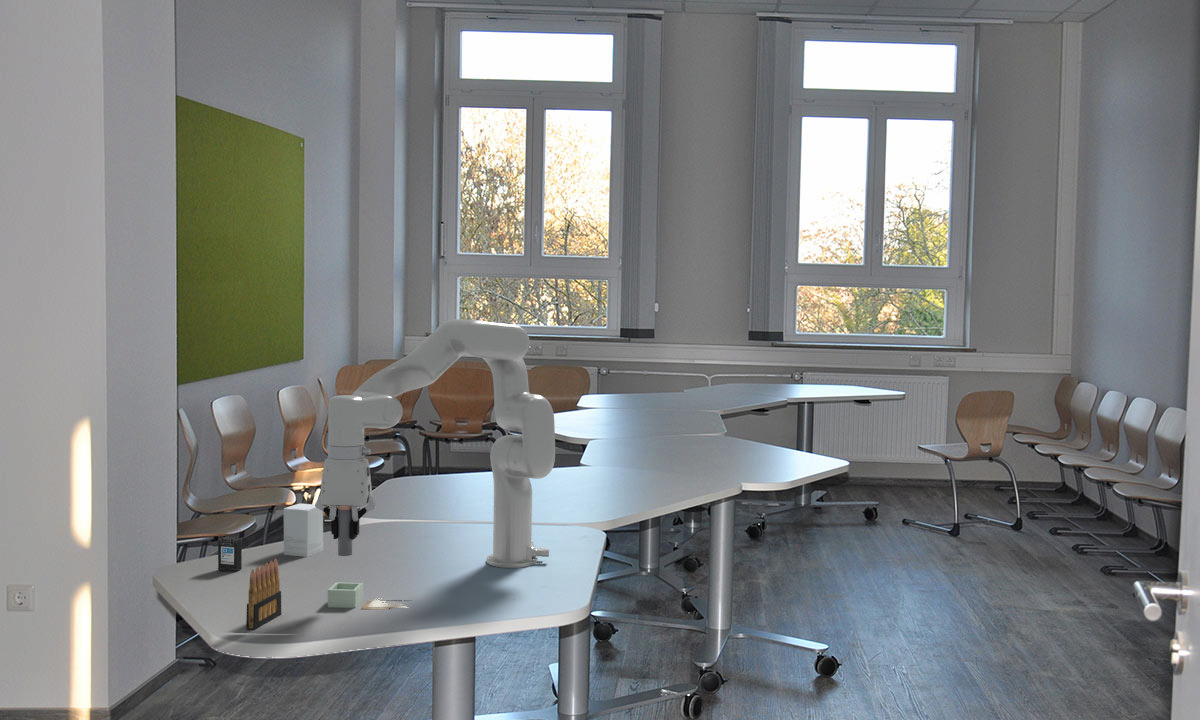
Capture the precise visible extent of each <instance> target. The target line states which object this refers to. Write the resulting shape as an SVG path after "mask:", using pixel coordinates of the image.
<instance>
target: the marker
mask: <svg viewBox="0 0 1200 720" xmlns="http://www.w3.org/2000/svg"><path fill="white" fill-rule="evenodd" d="M351 521H352V507H347V506H338V538H337V556H340V557H348V556H349V557H350V556H352V555H353V540H351V539H350V522H351Z"/></svg>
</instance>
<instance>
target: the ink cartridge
mask: <svg viewBox="0 0 1200 720" xmlns="http://www.w3.org/2000/svg"><path fill="white" fill-rule="evenodd" d="M242 545H243V544H242V538H240V537H237V536H234V537H231V536H224V537H221V538H219V539H218V540H217V556H218V557H217V562H218V564H217V569H218V570H217V571H219V572H220V571H221V572H226V573H227V572H228V573H229V572H230V573H236V572H238V571H240V570H242V569H243V568H242V567H243V566H242V564H243V562H242V559H243V557H242V554H243V553H242V548H243V546H242Z"/></svg>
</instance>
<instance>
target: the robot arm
mask: <svg viewBox="0 0 1200 720" xmlns="http://www.w3.org/2000/svg"><path fill="white" fill-rule="evenodd" d="M530 343H531V342H530V337H529V335H528V333H527V331H526V330H525V329H524V328H522V327H521V326H519V325H518V324H508V323H498V322H490V321H483V320H477V319H461V318H460V319H457V318H456V319H455V318H453V319H448V320H446V321H444V322H443V323H441V324H440V325H439V326H438V327H436V328H435V329H434V330H433V332H431V333H430V334H429V335H428V336H427V337H426V338H425V339H424V340H423V341H422V342H421V343H420V344H419V345H417V346H416V347H415V348H414V349H413V350H412V351H411V352H410V353H408V354H407V355H406V356H404V357H402V358H401V359H398V360H397V361H395V362H393V363H391V364H390V365H388V366H386V367H384V368H382V369H380V370H379V371H377V372H376V373H375V374H373V375H372V376H370V377H369V378H367V379H366V380H365V382H363V383H362V384H361V385H360V386H359V387H358V388H356V389H355V390H354V392H353V393H352V394H351V395H350V394H341V395H334V396H332V397H331V398H330V399H329V401H328V414H327V416H328V418H327V420H328V421H327V423H328V424H327V425H328V428H327V429H328V430H327V432H328V433H327V434H328V435H327V436H328V437H327V439H328V440H327V443H328V444H327V458H325V459H324V464H323V469H322V475H321V481H320V482H321V483H320V495H319V497H318V498H317V500H316V502H315V503H314V505H315V507H316V508H318V509H320V510H322V511H323V514H326V516H327V517H328V518H329V520H330V521H331V523H330V524H331V525H330V527H331V530H330V531H331V535H333V538H332V539H333V540H338V506H347V507H352V521H351V522H350V539H351V540H352V541H353V540H355V539H356V538H357V537H358V535H360V519H361V518H362V517H363V516H364V515H365V514H367V513H369V512H371V511H373V510H374V509H376V508H377V504H376V502H375V500H374V497H373V496H372V493H373V492H372V479H371V468H370V464H369V463H370V462H369V460H368V458H365V457H366V456H368V455H371V454H372V451H371V450H372V449H371V448H368V447H366V445H365V429H367V428H368V429H369V428H371V429H382V430H383V429H384V430H385V429H389V428H393V427H394V426H396V425H397V424H398V423H399V422H400V421H401V419H402V417H403V413H404V409H403V406H402V404H401V402H400V400H399V399H398V398H396V397H398V396H400V395H402V394H404V393H407V392H411V391H414V390H417V389H418V390H419V389H421V388H425V387H427V386H430V385H432V384H434V383H435V382H436V381H437V380H438V379H439V378H440V377H441V376H442V375H444V373H445V372H446V371H447V370H449V369H450V367H452V366H453V365H454V364H455V363H456V362H457V361H458V360H459V359H460V358H462V357H471V358H473V357H474V358H480V359H482V360H484V362H486V364H487V365H488V367H489V368H490V371H491V374H492V375H491V376H492V381H493V401H494V402H493V405H494V407H493V408H494V419H495V422H496V424H497V425H498V426H499V427H500V428H502V429H504V430H507V431H512V432H518V433H521V435H516V434H515V435H514V434H506V435H502V436H500V437H499V438H497V439H496V440H495V441H494V442H493V444H492V446H491V449H490V452H489V453H490V454H489V457H490V458H489V459H490V466H491V472H492V478H493V479H492V480H493V525H492V526H493V531H492V533H493V535H492V537H493V538H492V553H491V554H489V555H488V556H487V557H486V563H487V564H488V565H489V566H492V567H495V568H502V569H503V568H504V569H520V568H526V567H530V566H533V565H536V564H537V562H538V557H541V558H549V557H550V549H549V548H546V547H536V546H534V545H535V542H534V541H532V536H533V534H532V532H533V531H532V530H533V525H532V524H533V488H532V482H531V479H536V480H537V479H538V480H540V479H544V478H546V477H547V476H549V474H550V473H551V472H552V470H553V468H554V466H555V460H556V431H555V429H556V428H555V414H554V410H553V407H552V404H551V403H550V401H549V400H548V399H547V398H545V397H544V396H543V395H540V394H535V393H530V390H529V389H530V388H529V377H528V370H527V366H526V363H525V360H524V357H525V356H526V354H527V353H528V352H529V349H530V345H531V344H530ZM365 505H366V506H365Z"/></svg>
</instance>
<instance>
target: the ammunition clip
mask: <svg viewBox="0 0 1200 720" xmlns="http://www.w3.org/2000/svg"><path fill="white" fill-rule="evenodd" d="M249 575H250V576H249V587H248V600H247V601H248V603H246V621H245V622H246V627H245V628H246V630H250V631H251V630H252V631H255V630H257V629H259V628H261V627H263V626H264V625H266V624H268V623H269V622H271V621H273V620H275V619H276V618H278V617H280V616H282V590H280V589H281V587H280V586H281V585H280V573H279V563H278V560H277V558H274V560H273V561H272V560H270V562H269V564H268V562H265V564H261V565H260V568H259V567H258V566H257V567H256V569H255V570H254V568H252V569H251V572H250V574H249Z"/></svg>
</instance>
